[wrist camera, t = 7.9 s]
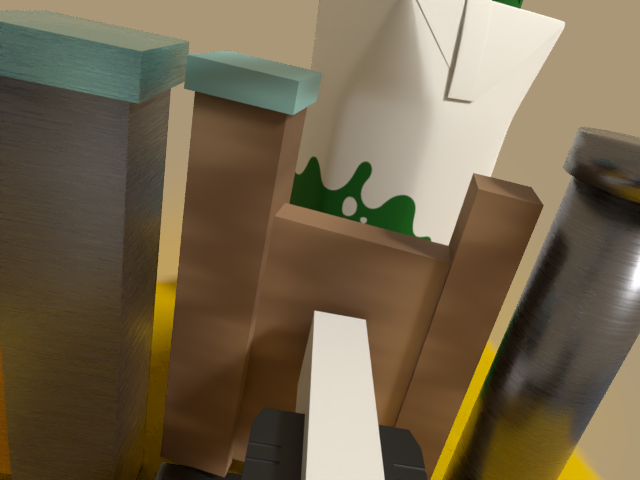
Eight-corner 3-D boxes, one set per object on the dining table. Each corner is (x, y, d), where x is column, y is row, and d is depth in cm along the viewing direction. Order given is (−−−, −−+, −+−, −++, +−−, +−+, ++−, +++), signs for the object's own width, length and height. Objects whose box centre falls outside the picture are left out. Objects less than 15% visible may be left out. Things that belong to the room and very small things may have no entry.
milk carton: (451, 376, 27) (612, -32, 19) (299, 400, 23) (419, -102, 15) (374, 290, 34) (467, -35, 26) (247, 297, 30) (310, -84, 22)
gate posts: (-142, 513, 15) (-293, -41, 9) (-59, 424, 18) (-127, -27, 12) (526, 609, 17) (789, 187, 10) (494, 511, 20) (679, 145, 14)
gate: (152, 459, 18) (186, 54, 12) (187, 405, 20) (229, 50, 14) (409, 543, 17) (576, 147, 11) (412, 476, 19) (548, 126, 14)
